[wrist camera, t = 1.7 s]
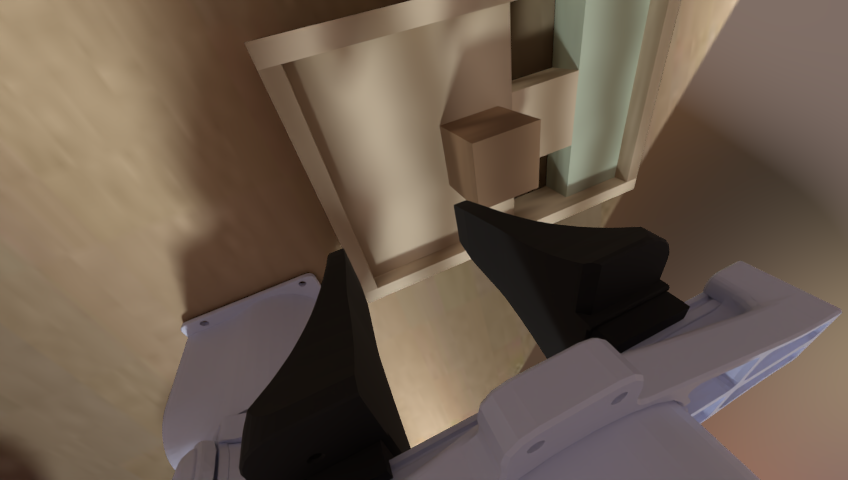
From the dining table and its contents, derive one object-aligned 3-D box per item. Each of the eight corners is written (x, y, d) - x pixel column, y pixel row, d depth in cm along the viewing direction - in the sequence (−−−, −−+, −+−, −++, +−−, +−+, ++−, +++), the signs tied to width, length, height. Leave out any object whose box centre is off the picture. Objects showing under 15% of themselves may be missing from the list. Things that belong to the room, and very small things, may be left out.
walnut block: (449, 185, 20) (479, 211, 17) (439, 125, 18) (472, 143, 15) (500, 165, 21) (538, 187, 18) (498, 105, 19) (541, 119, 16)
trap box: (358, 272, 25) (368, 303, 22) (251, 41, 15) (243, 42, 12) (598, 173, 29) (633, 188, 26) (636, -56, 19) (699, -73, 16)
